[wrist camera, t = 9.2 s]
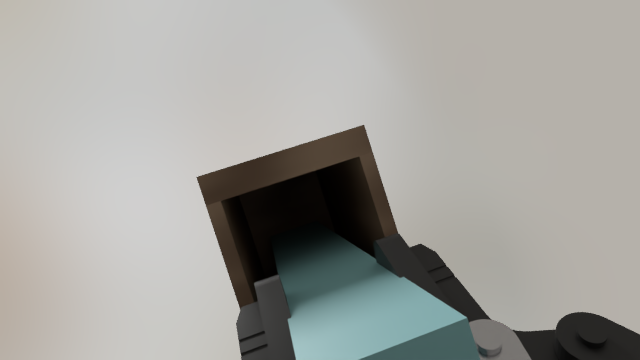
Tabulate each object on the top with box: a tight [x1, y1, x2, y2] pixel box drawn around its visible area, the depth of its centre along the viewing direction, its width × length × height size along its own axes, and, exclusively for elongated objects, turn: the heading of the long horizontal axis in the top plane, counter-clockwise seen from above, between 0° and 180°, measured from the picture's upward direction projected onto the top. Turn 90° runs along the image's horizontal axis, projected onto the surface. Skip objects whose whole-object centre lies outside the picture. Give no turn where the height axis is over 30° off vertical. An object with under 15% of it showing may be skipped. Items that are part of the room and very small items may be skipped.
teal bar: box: [270, 221, 480, 360], centre depth 17 cm, size 3×20×3 cm, turn 8°
